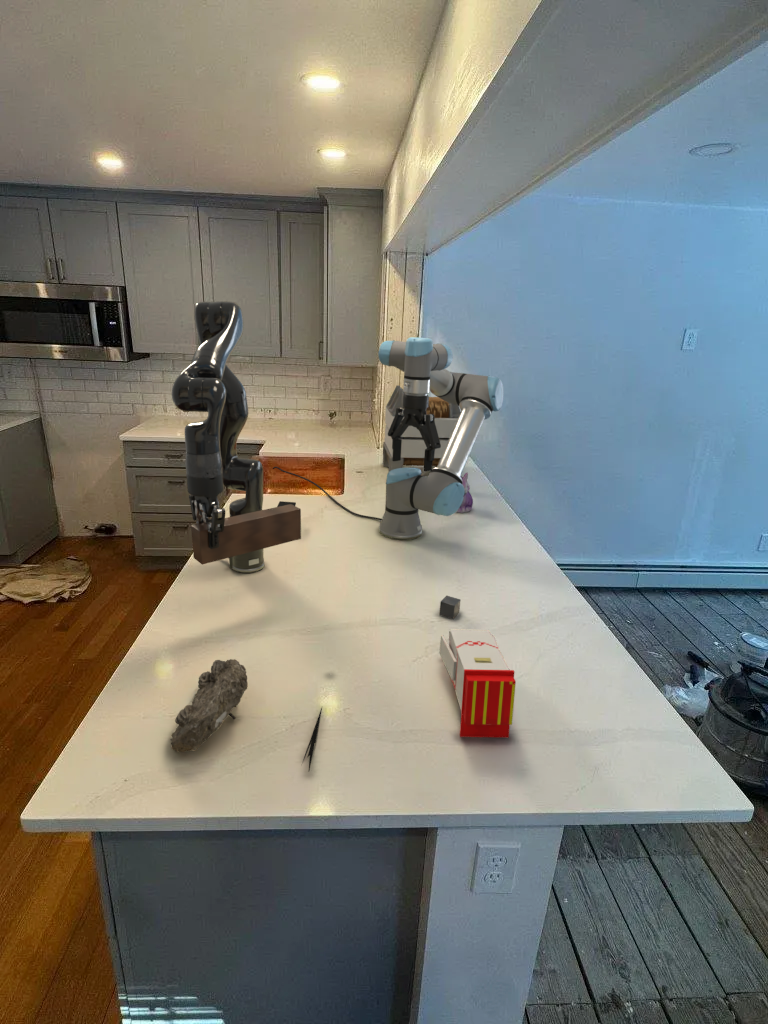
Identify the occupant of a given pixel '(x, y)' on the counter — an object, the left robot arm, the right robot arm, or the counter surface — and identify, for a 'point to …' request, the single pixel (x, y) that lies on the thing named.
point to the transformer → (418, 432)
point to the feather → (313, 740)
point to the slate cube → (449, 607)
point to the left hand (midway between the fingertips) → (209, 543)
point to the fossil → (210, 704)
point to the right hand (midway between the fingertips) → (411, 465)
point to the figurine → (466, 496)
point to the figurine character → (286, 503)
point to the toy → (479, 682)
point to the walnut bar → (248, 533)
